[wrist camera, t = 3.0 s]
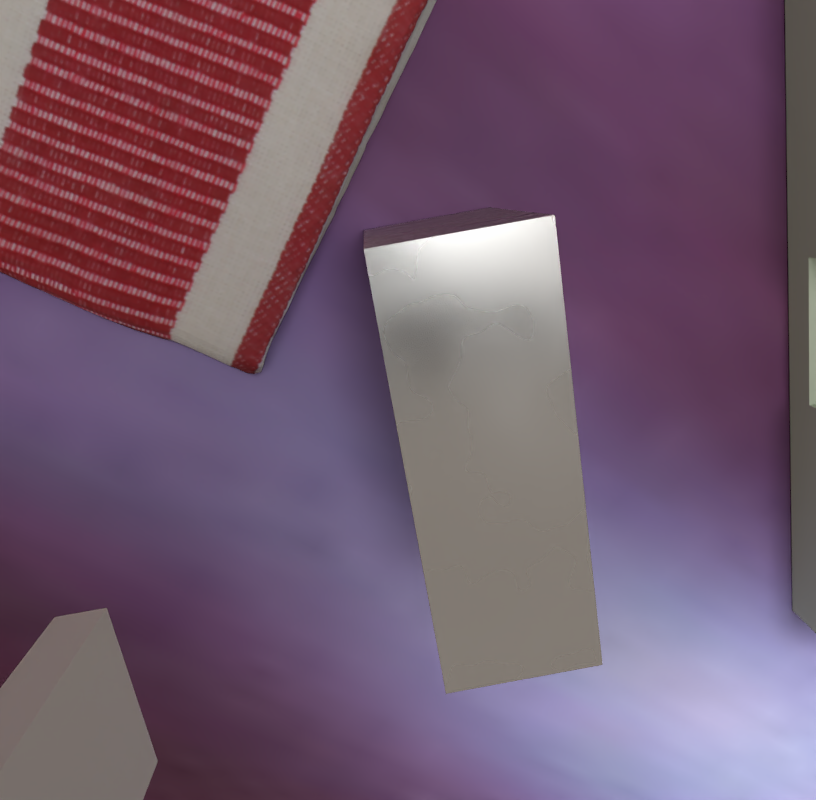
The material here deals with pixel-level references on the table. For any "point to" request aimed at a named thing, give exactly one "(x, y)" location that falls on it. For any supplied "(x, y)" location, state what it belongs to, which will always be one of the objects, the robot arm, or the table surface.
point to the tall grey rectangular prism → (488, 440)
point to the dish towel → (187, 152)
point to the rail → (802, 296)
